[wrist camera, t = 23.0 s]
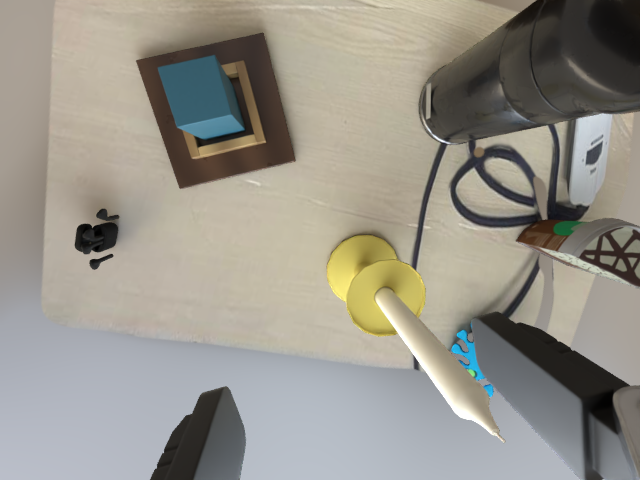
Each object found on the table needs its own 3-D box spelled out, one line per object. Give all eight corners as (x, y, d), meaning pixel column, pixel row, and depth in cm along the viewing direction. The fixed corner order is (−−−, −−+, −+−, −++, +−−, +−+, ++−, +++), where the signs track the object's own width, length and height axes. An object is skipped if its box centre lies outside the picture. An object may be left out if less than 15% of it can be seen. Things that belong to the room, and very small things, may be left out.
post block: (234, 87, 33) (214, 54, 24) (246, 131, 34) (232, 114, 25) (191, 96, 33) (156, 66, 24) (205, 140, 34) (176, 127, 25)
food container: (596, 230, 43) (687, 246, 33) (574, 268, 44) (656, 294, 34) (529, 196, 41) (605, 202, 31) (507, 237, 42) (574, 255, 32)
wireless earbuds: (115, 262, 37) (88, 275, 32) (93, 258, 36) (63, 270, 31) (124, 207, 35) (97, 212, 31) (101, 202, 35) (71, 206, 30)
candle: (335, 313, 41) (420, 550, 15) (318, 245, 39) (383, 383, 13) (404, 294, 42) (603, 491, 15) (391, 226, 39) (598, 320, 13)
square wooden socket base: (264, 36, 33) (262, 25, 31) (295, 161, 36) (295, 160, 34) (140, 63, 33) (128, 54, 30) (182, 188, 36) (174, 189, 33)
